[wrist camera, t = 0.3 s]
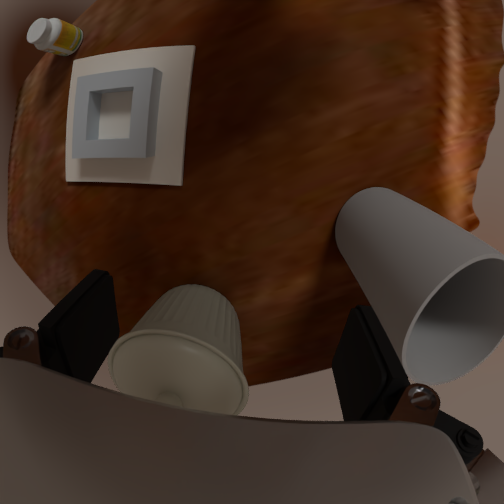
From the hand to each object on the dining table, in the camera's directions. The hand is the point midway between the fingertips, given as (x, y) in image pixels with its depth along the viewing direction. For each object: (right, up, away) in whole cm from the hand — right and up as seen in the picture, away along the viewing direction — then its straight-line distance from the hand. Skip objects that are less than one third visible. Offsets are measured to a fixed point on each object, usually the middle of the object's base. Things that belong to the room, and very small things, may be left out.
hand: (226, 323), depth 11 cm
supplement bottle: (-28, +37, +20) cm, 50 cm away
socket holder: (-18, +22, +25) cm, 38 cm away
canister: (-8, -8, +37) cm, 38 cm away
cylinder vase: (+19, +6, +30) cm, 36 cm away
